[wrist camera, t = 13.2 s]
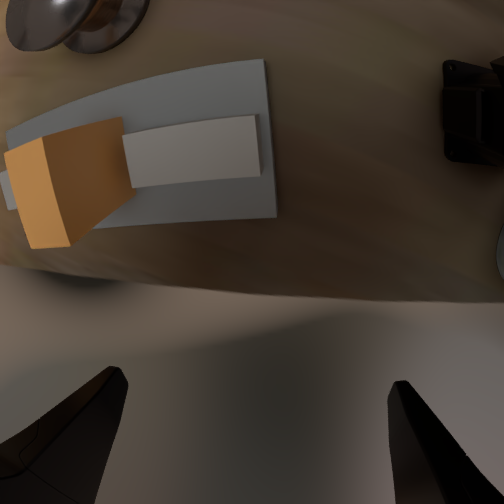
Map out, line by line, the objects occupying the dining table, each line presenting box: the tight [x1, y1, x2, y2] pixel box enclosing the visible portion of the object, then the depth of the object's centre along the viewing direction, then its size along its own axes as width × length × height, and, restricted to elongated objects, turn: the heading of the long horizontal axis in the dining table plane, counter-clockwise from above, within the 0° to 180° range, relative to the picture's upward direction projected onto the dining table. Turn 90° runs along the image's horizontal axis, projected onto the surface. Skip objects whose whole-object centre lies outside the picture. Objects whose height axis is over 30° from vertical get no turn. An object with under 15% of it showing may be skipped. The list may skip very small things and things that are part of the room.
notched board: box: [0, 59, 278, 229], centre depth 17 cm, size 20×9×4 cm, turn 96°
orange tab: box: [4, 116, 136, 249], centre depth 14 cm, size 3×5×7 cm, turn 6°
